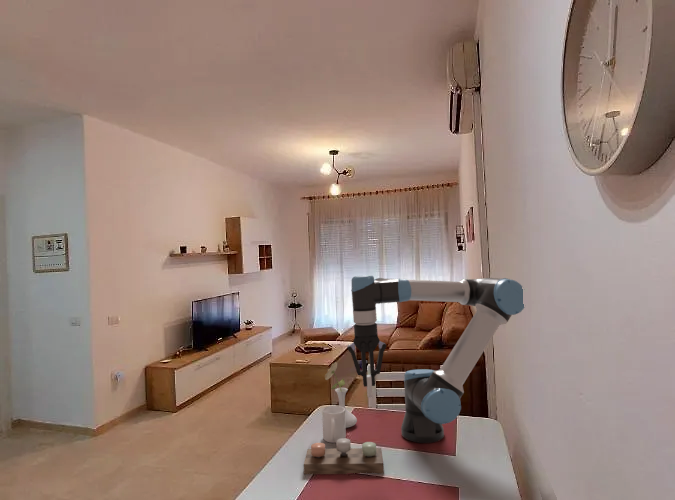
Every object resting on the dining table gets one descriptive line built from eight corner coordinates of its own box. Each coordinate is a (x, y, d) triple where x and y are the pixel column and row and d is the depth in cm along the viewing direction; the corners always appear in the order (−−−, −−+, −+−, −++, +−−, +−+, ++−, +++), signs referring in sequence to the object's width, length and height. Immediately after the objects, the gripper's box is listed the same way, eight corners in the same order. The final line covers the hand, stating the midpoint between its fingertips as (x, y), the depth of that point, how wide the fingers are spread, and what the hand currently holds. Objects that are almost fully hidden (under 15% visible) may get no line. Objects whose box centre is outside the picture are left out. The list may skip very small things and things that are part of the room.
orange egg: (325, 455, 130) (325, 442, 130) (325, 462, 125) (324, 448, 125) (312, 456, 130) (311, 442, 130) (310, 462, 125) (310, 449, 125)
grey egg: (350, 451, 129) (350, 438, 129) (350, 458, 125) (350, 444, 125) (337, 451, 129) (336, 438, 130) (336, 458, 125) (336, 444, 125)
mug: (345, 448, 139) (344, 417, 139) (321, 448, 139) (320, 418, 140) (346, 433, 151) (345, 405, 151) (324, 433, 151) (323, 405, 152)
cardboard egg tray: (381, 457, 132) (381, 447, 132) (383, 473, 122) (383, 463, 122) (307, 458, 133) (307, 449, 133) (304, 474, 123) (303, 464, 123)
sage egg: (376, 455, 129) (375, 441, 129) (377, 462, 125) (376, 448, 125) (362, 455, 129) (361, 442, 129) (362, 462, 125) (362, 448, 125)
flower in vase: (343, 417, 167) (341, 356, 167) (363, 424, 158) (360, 360, 159) (318, 426, 158) (316, 362, 159) (338, 435, 150) (336, 366, 150)
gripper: (383, 320, 136) (388, 391, 135) (344, 322, 136) (349, 393, 135) (386, 323, 129) (391, 398, 128) (345, 326, 128) (350, 401, 128)
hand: (370, 396), depth 132 cm, fingers closed
